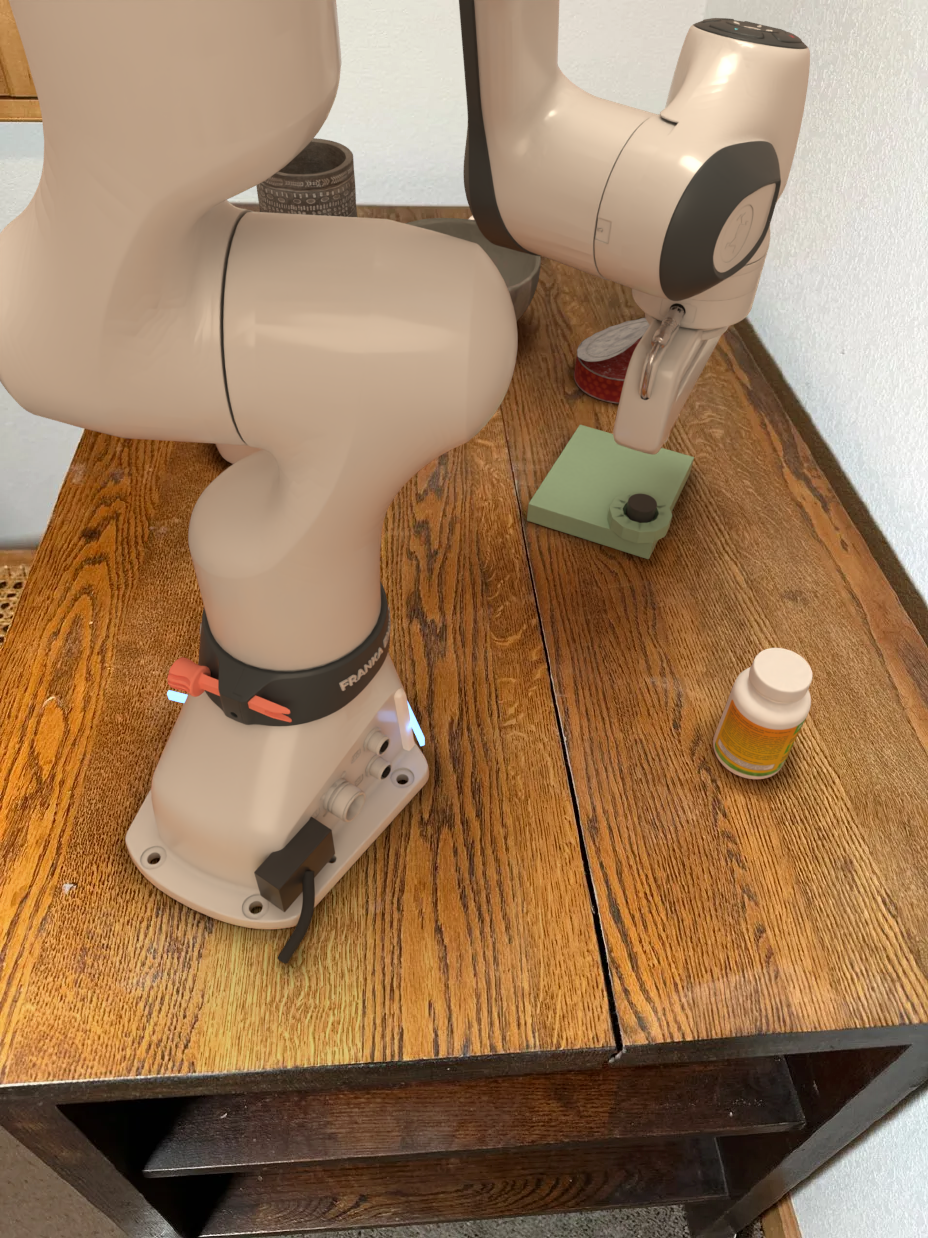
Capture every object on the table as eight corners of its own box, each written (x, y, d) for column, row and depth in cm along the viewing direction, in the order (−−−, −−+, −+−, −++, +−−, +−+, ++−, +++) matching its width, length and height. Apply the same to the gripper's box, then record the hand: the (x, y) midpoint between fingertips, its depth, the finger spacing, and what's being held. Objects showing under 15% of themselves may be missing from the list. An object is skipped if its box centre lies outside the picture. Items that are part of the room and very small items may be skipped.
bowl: (463, 276, 120) (465, 197, 113) (569, 345, 109) (579, 263, 102) (329, 321, 111) (323, 239, 104) (430, 402, 101) (430, 316, 93)
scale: (654, 567, 84) (661, 538, 81) (523, 525, 87) (526, 496, 85) (697, 475, 93) (704, 447, 90) (577, 440, 96) (581, 412, 94)
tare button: (649, 526, 83) (652, 515, 82) (621, 518, 83) (624, 506, 83) (658, 509, 84) (660, 498, 83) (630, 501, 85) (633, 489, 84)
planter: (367, 274, 120) (362, 171, 110) (272, 284, 117) (258, 179, 108) (350, 232, 127) (344, 133, 118) (260, 241, 125) (247, 140, 116)
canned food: (605, 438, 105) (580, 382, 96) (572, 382, 110) (545, 324, 102) (697, 387, 103) (679, 325, 95) (658, 332, 108) (638, 269, 100)
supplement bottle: (785, 788, 68) (826, 706, 61) (710, 774, 69) (743, 692, 62) (783, 729, 72) (821, 646, 65) (712, 717, 72) (743, 633, 65)
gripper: (699, 359, 60) (659, 519, 70) (770, 229, 73) (728, 380, 83) (606, 334, 62) (581, 494, 72) (692, 211, 74) (660, 362, 85)
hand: (660, 432), depth 78 cm, fingers closed
